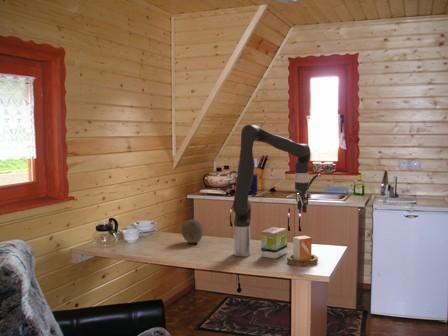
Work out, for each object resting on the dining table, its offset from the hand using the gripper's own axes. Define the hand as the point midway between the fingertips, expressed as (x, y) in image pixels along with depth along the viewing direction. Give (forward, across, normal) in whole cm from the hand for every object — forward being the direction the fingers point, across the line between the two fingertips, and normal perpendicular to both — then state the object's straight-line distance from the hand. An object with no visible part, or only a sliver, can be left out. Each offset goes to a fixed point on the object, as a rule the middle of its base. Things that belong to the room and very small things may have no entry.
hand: (301, 211), depth 265 cm
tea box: (+28, -18, -11) cm, 35 cm away
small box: (+28, 0, 0) cm, 28 cm away
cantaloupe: (+29, -57, -55) cm, 84 cm away
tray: (+28, 0, 0) cm, 28 cm away
